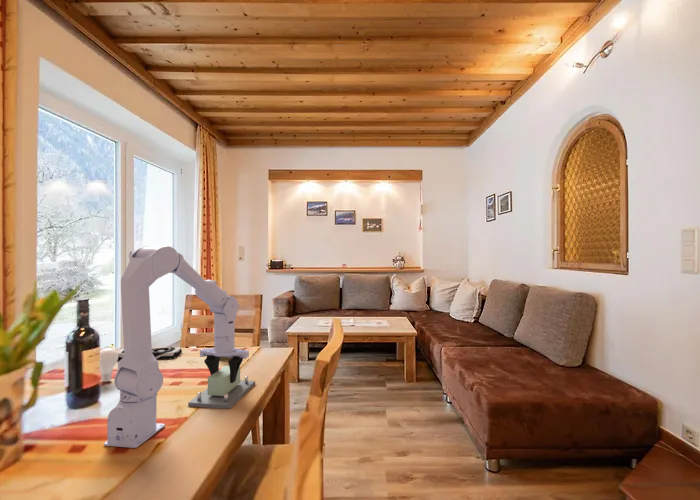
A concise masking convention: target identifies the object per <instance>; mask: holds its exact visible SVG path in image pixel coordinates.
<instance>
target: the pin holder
mask: <svg viewBox="0 0 700 500" xmlns="http://www.w3.org/2000/svg"><path fill="white" fill-rule="evenodd" d="M255 385H256V381H255V380H249V376H248V375H245V376H244V380H241V379H240V383H239V384H238V385H237V386H235V387H234V388H233V389H232V390H231V391H230V392H228V393H226V394H224V396H213V395H208V387H207V388H206V389H204V390H203V391H198V392H197V393H196V394H197V395H196V396H195V397H193V398H192V399H191V400H190V401H188V402H187V403H188V404H187V405H188V407H194V406H195V407H196V408H212V409H227V410H230V409H231V408H232V407H233V406H234V405H235V404H236V403H237V402H238V401H239V400H240V399H242V397H243V396H245V394H247V392H249V391H250V390H251V389H252V388H253V386H255ZM195 407H194V408H195Z"/></svg>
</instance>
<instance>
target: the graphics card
mask: <svg viewBox="0 0 700 500" xmlns="http://www.w3.org/2000/svg"><path fill="white" fill-rule="evenodd" d="M115 350H116V349H115ZM116 351H117V352H118V356H119V357H118V360H117V362H119V361H120V360H121V359H122V358H123V357H124V347H120V348H118V349H117V350H116ZM182 353H183V349H182V348H181V347H178V346H177V347H176V346H175V347H173V346H172V347H152V354H153V355H154V357H155V358H156V360H157V361H158V360H175V359H176V358H177V357H178V356H179V355H181V354H182Z"/></svg>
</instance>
